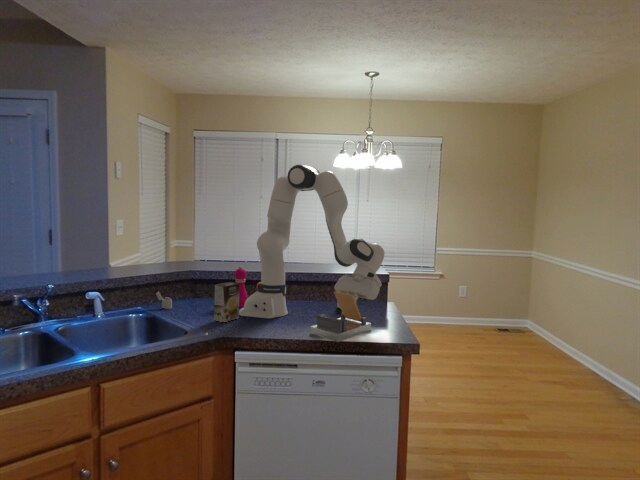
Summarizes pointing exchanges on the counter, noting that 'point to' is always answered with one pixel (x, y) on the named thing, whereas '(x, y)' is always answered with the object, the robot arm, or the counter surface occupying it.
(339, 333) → the grey and white fixture
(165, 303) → the lighter
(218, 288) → the coffee box
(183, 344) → the counter surface
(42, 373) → the counter surface
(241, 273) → the pepper mill
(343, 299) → the tan flat panel
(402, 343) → the counter surface
